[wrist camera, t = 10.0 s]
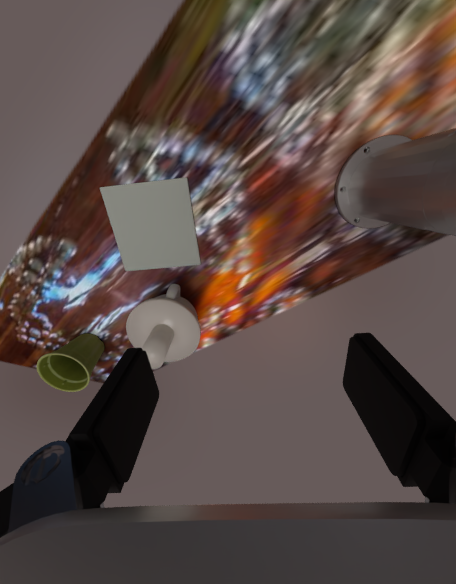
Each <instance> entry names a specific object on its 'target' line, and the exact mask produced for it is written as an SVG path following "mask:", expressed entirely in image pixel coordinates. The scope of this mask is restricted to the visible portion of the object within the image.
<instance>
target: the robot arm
mask: <svg viewBox="0 0 456 584" xmlns="http://www.w3.org/2000/svg"><path fill="white" fill-rule="evenodd" d="M364 149H365V153H364ZM340 188H342V190H341V191H340ZM335 201H336V206H337V209H338V211H339V213H340V215H341V216H342V217H343V218H344V219H345V220H346V221H347V222H348V223H350V224H352V225H354V226H357V227H361V228H368V229H370V228H378V227H382V226H385V225H387V224H389V223H394V224H399V225H404V226H408V227H413V228H418V229H423V230H428V231H433V232H438V233H443V234H448V235H454V236H456V128H454V129H451V130H447V131H444V132H440V133H437V134H433V135H430V136H426V137H423V138H419V139H416V140H411V139H409V138H408V137H405V136H401V135H386V136H382V137H378V138H376V139H373V140H371V141H369V142H367V143H365V144H364V145H362V146H361V147H360V148H358V149H357V150H356V151H355V152H354V153H353V154H352V155H351V156H350V157H349V158H348V160H347V161H346V163H345V164H344V166H343V167H342V169H341V171H340V173H339V176H338V179H337V182H336V188H335ZM355 218H356V220H355ZM354 220H355V221H354ZM343 387H344V389H345V391H346V393H347V395H348V397H349V398H350V400H351V402H352V404H353V406H354V407H355V409H356V411H357V413H358V415H359V416H360V418H361V420H362V422H363V424H364V425H365V427H366V429H367V431H368V433H369V434H370V436H371V438H372V440H373V441H374V443H375V445H376V447H377V449H378V451H379V452H380V454H381V456H382V458H383V459H384V461H385V463H386V465H387V467H388V468H389V470H390V472H391V473H392V474H393V475H394V476H397V477H398V478H399V480H400V481H401V484H402V485H403V487H413V486H418V487H419V489H420V490H421V492H422V493H423V495H424V496H425V503H415V502H354V503H278V504H221V505H177V506H136V507H114V508H104V503H103V502H104V501H105V498H106V495H107V493H121V490H122V487H123V485H124V482H127V481H128V480H129V478H130V476H131V473H132V470H133V467H134V465H135V462H136V459H137V456H138V453H139V451H140V448H141V445H142V443H143V440H144V437H145V434H146V432H147V429H148V426H149V423H150V421H151V418H152V415H153V412H154V410H155V407H156V404H157V401H158V398H159V390H158V387H157V384H156V381H155V378H154V374H153V371H152V368H151V365H150V362H149V359H148V356H147V353H146V351H143V349H142V348H129V349H127V350H126V351H125V353H124V354H123V356H122V357H121V359H120V360H119V362H118V363H117V365H116V366H115V368H114V369H113V371H112V372H111V374H110V375H109V377H108V378H107V380H106V381H105V382H104V384H103V385H102V387H101V389H100V390H99V392H98V393H97V394H96V396H95V398H94V399H93V400H92V402H91V403H90V405H89V406H88V408H87V409H86V411H85V412H84V413H83V415H82V416H81V418H80V419H79V421H78V422H77V424H76V425H75V427H74V428H73V430H72V431H71V433H70V434H69V436H68V438H67V440H66V441H54V442H51V443H49V444H47V445H44V446H43V447H41V448H40V449H38V450H37V451H35V452H34V453H33V454H32V455H31V456H30V457H29V458H28V459H27V460H26V461H25V462H24V463H23V464H22V466H21V467H20V469H19V470H18V472H17V474H16V477H15V480H14V483H13V484H11V485H10V486H8V487H7V488H5V489H4V490H2V491H1V492H0V584H456V421H455V420H454V419H453V418H452V417H451V416H450V415H449V414H448V413H447V412H446V411H445V410H444V409H443V408H442V407H441V406H440V405H439V404H438V403H437V402H436V401H435V399H433V397H432V396H430V394H429V393H428V392H427V391H426V390H425V389H424V388H423V387H422V386H421V385H420V384H419V383H418V382H417V381H416V380H415V379H414V378H413V377H412V376H411V375H410V373H409V372H407V370H406V369H405V368H404V367H403V366H402V365H401V364H400V363H399V362H398V361H397V360H396V359H395V358H394V357H393V356H392V355H391V354H390V353H389V352H388V351H387V350H386V349H385V348H384V347H383V345H382V344H381V343H380V342H379V341H378V340H377V339H376V338H375V337H374V336H373V335H372V334H371V333H357V334H355V335H354V336H353V337H351V338H350V340H349V346H348V353H347V359H346V365H345V371H344V377H343Z"/></svg>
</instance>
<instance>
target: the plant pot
mask: <svg viewBox="0 0 456 584" xmlns="http://www.w3.org/2000/svg"><path fill="white" fill-rule="evenodd" d="M103 351H104V343H103V342H102V341H101V340H99V338H98V337H97V336H95V335H93V334H88V333H85V334H81V335H79V336H78V337H76V338H75V339H73V340H72V341H70V342H69V343H68V344H66V345H65V346H63V347H62V348H60V349H59V350H57V351H54V352H52V353H49V354H46V355H44V356H42V357H41V358H40V359H39V360H38V362H37V371H38V373H39V375H40V377H41V378H42V379H43V380H44V381H45V382H46V383H47V384H49V385H50V386H52V387H54V388H56V389H59V390H61V391H67V392H75V391H79V390H82V389H84V388H85V387H86V386H87V385H88V383H89V381H90V376H91V373H92V370H93V369H94V367H95V365H96V363H97V362H98V360H99V358H100V357H101V355H102V353H103Z"/></svg>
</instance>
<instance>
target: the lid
mask: <svg viewBox="0 0 456 584" xmlns="http://www.w3.org/2000/svg"><path fill="white" fill-rule="evenodd" d="M126 330H127V335H128V338H129V340H130V342H131V343H132V345H133V346H134V347H135V348H142V349H143V351H146V353H147V356H148V359H149V362H150V365H151V368H152V369H157V368H159V367H161V366H162V364H163V362H174V361H179V360H182V359H184V358H186V357H188V356H189V355H191V354H192V353H193V352H194V351H195V350H196V348H197V346H198V344H199V340H200V336H201V328H200V324H199V321H198V319H197V317H196V316H195V314H194V313H193V312H192V311H191V310H190V309H189V308H188V307H186V306H185V305H183V304H182V303H180V302H178V301H175V300H172V299H168V298H152V299H148V300H146V301H143V302H142V303H140V304H139V305H137V306H136V307H135V308H134V310H133V311H132V312H131V313H130V315H129V317H128V319H127V323H126Z"/></svg>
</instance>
